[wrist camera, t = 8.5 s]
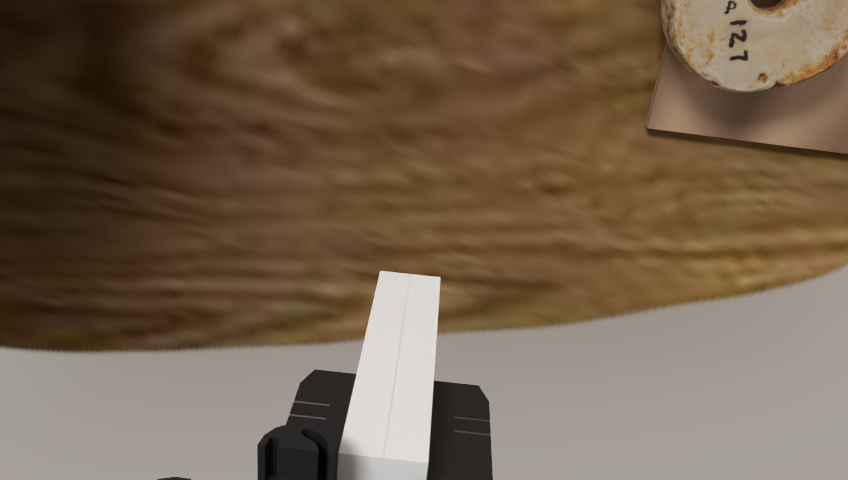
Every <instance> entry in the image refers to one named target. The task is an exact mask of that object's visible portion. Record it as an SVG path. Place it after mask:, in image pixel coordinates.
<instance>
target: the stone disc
mask: <svg viewBox="0 0 848 480" xmlns="http://www.w3.org/2000/svg"><path fill="white" fill-rule="evenodd" d="M661 21H662V28H663V31H664V35H665V37H666V40H667V43H668V45H669V47H670V49H671V50H672V52H673V53H674V55H675V56H676V57H677V58H678V60H679V61H680V62H681V63H682V64H683V66H684V67H685V68H686V69H687V70H689V71H690V72H691V73H692V74H693V75H694V76H695V77H698V78H699V79H700V80H701V81H703V82H705V83H708V84H709V85H711V86H713V87H716V88H720V89H722V90H724V91H731V92H754V91H763V90H768V89H772V88H778V87H781V86H787V87H790V86H791V85H793V84H794V83H802V82H805V81H807V80H809V79H810V78H812V77H814V76H816V75H818V74H820V73H823V72H825V71H827V70H829V69H830V68H832V67H833V66H834V65H836V64H837V63H838V62H839V61H840V60H842V59H843V58H844V57H845V56H846V55H847V54H848V0H782V1H781V2H780V3H778V4H777V5H775V6H773V7H769V8H759V7H757V6H754V5H753V4H752V2H751V0H661Z"/></svg>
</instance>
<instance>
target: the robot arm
mask: <svg viewBox="0 0 848 480" xmlns="http://www.w3.org/2000/svg"><path fill="white" fill-rule="evenodd" d="M439 293H440V277H433V276H423V275H414V274H405V273H395V272H386V271H380V274H379V278H378V283H377V287H376V291H375V296H374V300H373V305H372V309H371V313H370V318H369V322H368V326H367V331H366V335H365V339H364V344H363V348H362V353H361V357H360V361H359V366H358V370H357V374H350V373H342V372H332V371H323V370H314V371H313V372H312V373H311V374H309V376H307V377H306V378H305V379H304V380H303V381H302V382H301V383H300V385H299V388H298V391H297V394H296V397H295V401H294V403H293V406H292V409H291V412H290V416H289V417H288V420H287V423H286V425H284V426H281V427H277V428H275V429H273V430H272V431H270V432H269V433H267V434H265V435H264V436H263V438H262V439H261V441H260V442H259V444H258V480H493V478H492V457H491V437H490V422H489V421H490V414H489V401H488V400H487V398H486V397H485V395H484V393H483V392H482V391H481V389H480V387H479V386H477V385H468V384H458V383H449V382H439V381H434V370H435V354H436V339H437V324H438V308H439ZM158 480H191V479H186V478H179V477H171V478H164V479H158Z"/></svg>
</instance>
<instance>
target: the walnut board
mask: <svg viewBox="0 0 848 480" xmlns="http://www.w3.org/2000/svg"><path fill="white" fill-rule="evenodd" d="M781 1H782V0H751V2H752V4H753V5H754V6H757V7H759V8H769V7H773V6H775V5H777V4H778V3H780V2H781ZM645 126H646V127H647V128H649V129H657V130H665V131H673V132H680V133H688V134H696V135H704V136H712V137H720V138H727V139H735V140H743V141H751V142H759V143H767V144H774V145H782V146H790V147H798V148H806V149H814V150H821V151H829V152H837V153H845V154H848V54H847V55H846V56H845V57H844V58H843V59H842V60H840V61H839V62H838V63H837V64H836V65H834V66H833V67H832V68H830V69H829V70H827V71H825V72H823V73H820V74H818V75H816V76H814V77H812V78H810V79H809V80H807V81H805V82H802V83H794V84H793V85H791V86H790V87H787V86H781V87H778V88H772V89H768V90H763V91H754V92H731V91H724V90H722V89H720V88H716V87H713V86H711V85H709V84H708V83H705V82H703V81H701V80H700V79H699V78H698V77H695V76H694V75H693V74H692V73H691V72H690V71H689V70H687V69H686V68H685V67H684V66H683V64H682V63H681V62H680V61H679V60H678V58H677V57H676V56H675V55H674V53H673V52H672V50H671V49H670V47H669V45H668V43H667V40H666V43H665V47H664V51H663V55H662V59H661V63H660V67H659V71H658V75H657V79H656V83H655V87H654V91H653V95H652V99H651V103H650V107H649V111H648V115H647V119H646V123H645Z"/></svg>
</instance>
